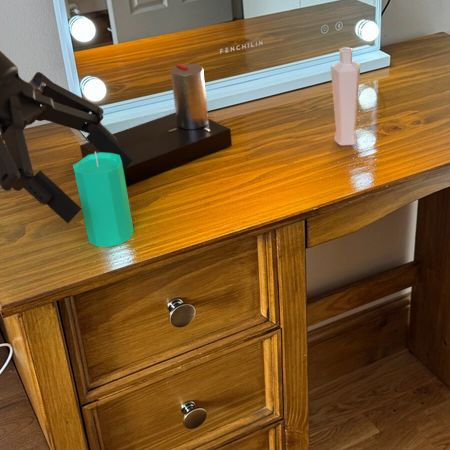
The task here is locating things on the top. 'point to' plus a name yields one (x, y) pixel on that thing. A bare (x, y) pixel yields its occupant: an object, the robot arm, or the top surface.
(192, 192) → the top surface
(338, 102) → the perfume bottle
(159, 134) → the block
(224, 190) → the top surface
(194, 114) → the silver metal cylinder
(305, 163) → the top surface
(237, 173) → the top surface
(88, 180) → the candle
